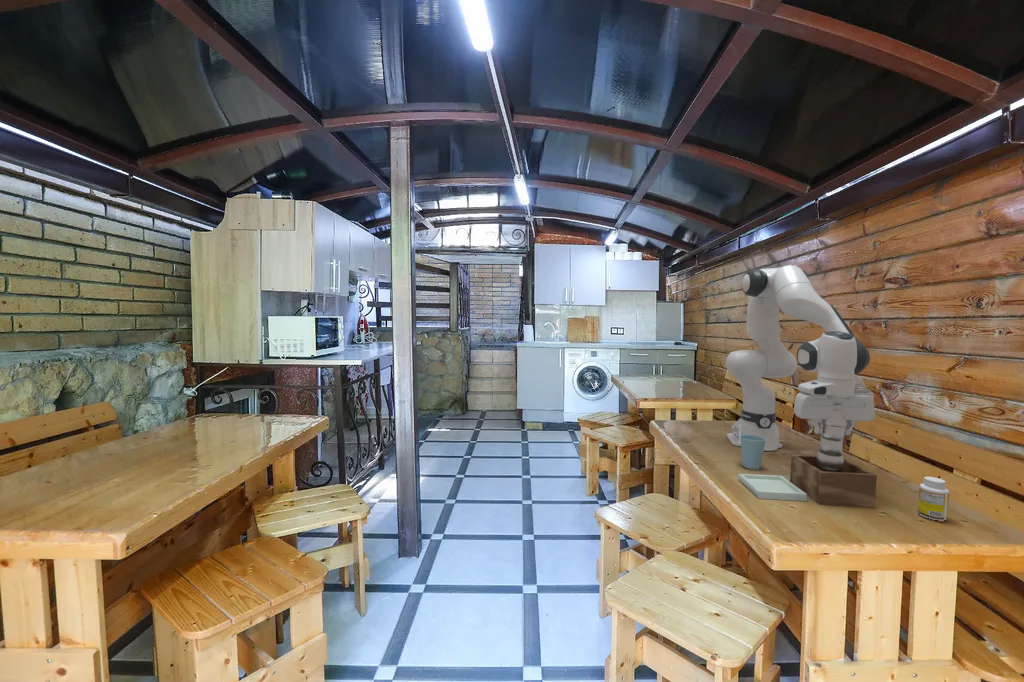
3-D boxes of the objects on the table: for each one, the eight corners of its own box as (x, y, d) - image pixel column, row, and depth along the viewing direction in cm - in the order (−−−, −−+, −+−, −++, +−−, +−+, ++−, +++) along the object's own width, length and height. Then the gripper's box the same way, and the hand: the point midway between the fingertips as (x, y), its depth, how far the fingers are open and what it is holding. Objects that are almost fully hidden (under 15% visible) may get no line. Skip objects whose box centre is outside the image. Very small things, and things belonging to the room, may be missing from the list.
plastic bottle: (836, 465, 128) (842, 401, 126) (847, 474, 121) (853, 406, 119) (811, 463, 130) (817, 399, 128) (821, 472, 123) (826, 404, 121)
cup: (768, 468, 146) (769, 438, 146) (757, 472, 142) (758, 442, 142) (746, 461, 153) (747, 433, 152) (735, 466, 148) (736, 436, 148)
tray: (738, 479, 136) (738, 473, 136) (781, 481, 134) (781, 475, 134) (758, 498, 122) (758, 491, 122) (806, 501, 120) (807, 494, 120)
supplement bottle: (930, 512, 114) (932, 475, 114) (953, 522, 109) (956, 483, 108) (911, 512, 114) (914, 475, 113) (934, 522, 108) (936, 483, 108)
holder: (789, 482, 134) (791, 454, 133) (838, 485, 132) (840, 456, 131) (819, 504, 118) (820, 472, 118) (875, 507, 117) (877, 475, 116)
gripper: (866, 386, 125) (862, 432, 126) (792, 384, 128) (789, 429, 129) (882, 390, 119) (878, 438, 120) (804, 388, 121) (801, 435, 123)
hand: (832, 434), depth 124 cm, fingers closed on plastic bottle, 6 cm apart
